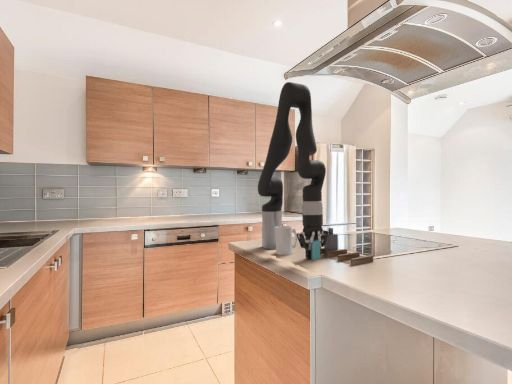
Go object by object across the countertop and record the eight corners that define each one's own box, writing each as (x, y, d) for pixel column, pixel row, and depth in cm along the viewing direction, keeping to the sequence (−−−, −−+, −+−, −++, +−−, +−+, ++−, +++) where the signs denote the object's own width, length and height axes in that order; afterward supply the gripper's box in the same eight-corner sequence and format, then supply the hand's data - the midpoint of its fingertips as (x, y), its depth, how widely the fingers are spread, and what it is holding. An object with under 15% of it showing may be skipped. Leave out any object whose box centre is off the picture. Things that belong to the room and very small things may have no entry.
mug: (281, 258, 111) (280, 228, 111) (272, 255, 117) (272, 226, 117) (302, 255, 116) (301, 226, 116) (293, 252, 122) (292, 224, 122)
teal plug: (306, 261, 107) (306, 233, 107) (314, 259, 109) (313, 232, 109) (312, 263, 104) (312, 235, 104) (320, 261, 106) (319, 234, 106)
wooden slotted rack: (315, 257, 113) (315, 249, 113) (334, 253, 118) (334, 246, 118) (352, 268, 96) (352, 259, 96) (373, 264, 100) (373, 255, 100)
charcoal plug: (324, 253, 113) (324, 228, 113) (331, 252, 115) (331, 227, 114) (330, 255, 110) (330, 229, 110) (337, 254, 111) (337, 228, 111)
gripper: (320, 211, 113) (321, 254, 113) (291, 213, 106) (292, 259, 106) (333, 212, 106) (334, 258, 106) (303, 214, 100) (304, 263, 100)
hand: (313, 258), depth 106 cm, fingers closed on teal plug, 3 cm apart
